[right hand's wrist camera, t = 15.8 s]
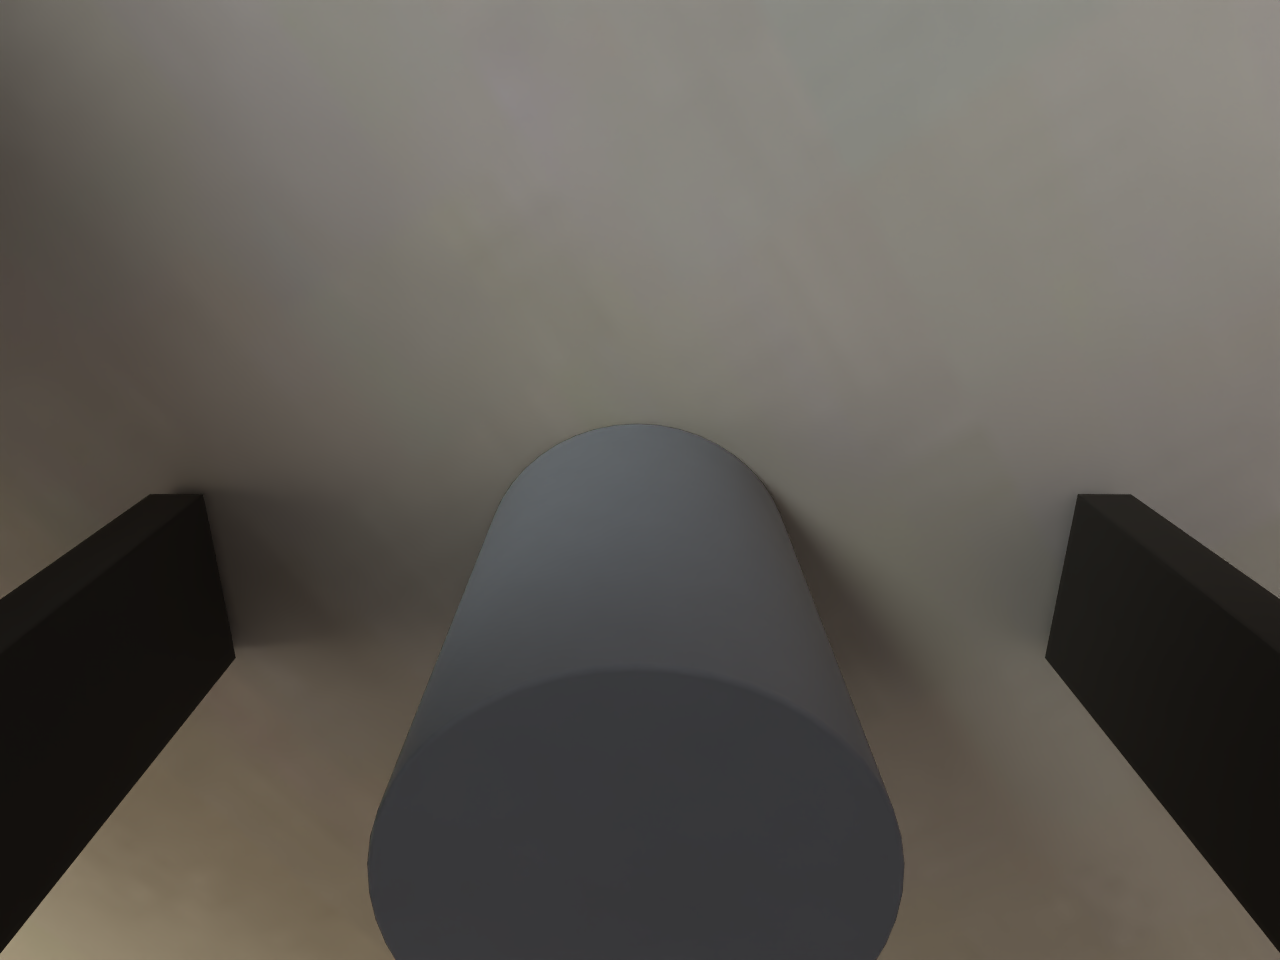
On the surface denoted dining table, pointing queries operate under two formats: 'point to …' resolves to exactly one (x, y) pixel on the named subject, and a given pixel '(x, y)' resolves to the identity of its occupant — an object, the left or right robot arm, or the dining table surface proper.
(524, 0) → the dining table surface
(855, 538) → the dining table surface
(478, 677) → the grey cylinder
